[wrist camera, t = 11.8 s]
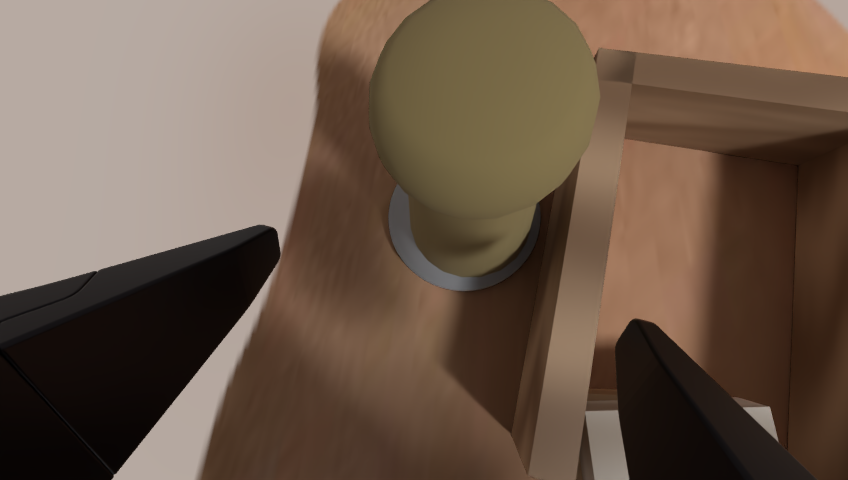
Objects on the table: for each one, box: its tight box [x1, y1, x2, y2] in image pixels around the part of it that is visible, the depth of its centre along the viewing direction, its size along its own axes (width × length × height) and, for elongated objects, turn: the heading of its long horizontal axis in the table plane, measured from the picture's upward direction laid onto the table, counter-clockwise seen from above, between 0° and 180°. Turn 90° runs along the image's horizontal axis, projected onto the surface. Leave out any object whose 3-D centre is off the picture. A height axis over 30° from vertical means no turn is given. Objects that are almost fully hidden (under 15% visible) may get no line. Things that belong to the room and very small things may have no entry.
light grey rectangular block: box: [576, 388, 779, 480], centre depth 14 cm, size 4×7×3 cm, turn 89°
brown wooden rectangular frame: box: [511, 48, 848, 480], centre depth 14 cm, size 17×12×4 cm
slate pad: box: [388, 184, 540, 291], centre depth 17 cm, size 8×8×1 cm
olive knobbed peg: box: [369, 0, 600, 277], centre depth 12 cm, size 6×6×11 cm
